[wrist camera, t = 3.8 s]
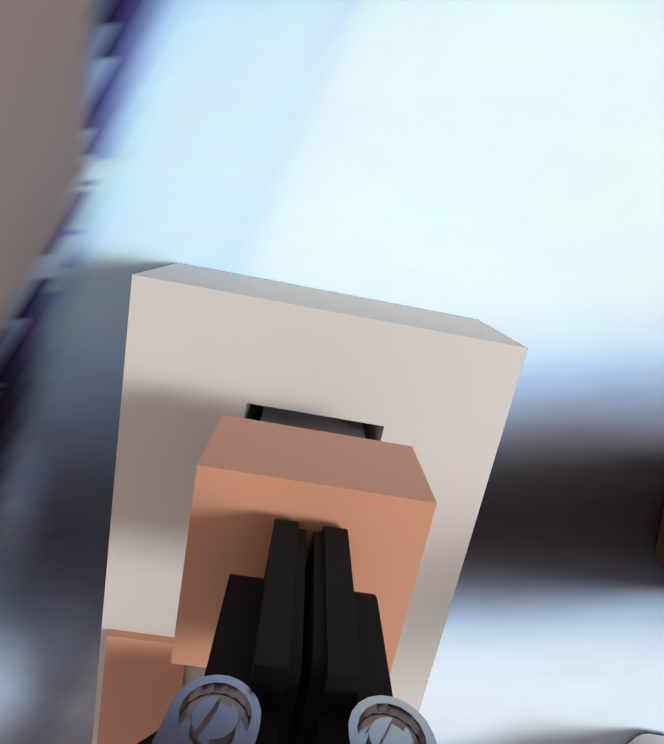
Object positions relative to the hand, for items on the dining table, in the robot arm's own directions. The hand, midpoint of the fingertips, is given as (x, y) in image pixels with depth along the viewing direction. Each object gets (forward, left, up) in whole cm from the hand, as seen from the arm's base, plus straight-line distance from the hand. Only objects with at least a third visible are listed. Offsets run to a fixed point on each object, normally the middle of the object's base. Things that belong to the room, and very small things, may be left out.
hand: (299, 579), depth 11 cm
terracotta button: (0, 0, -8) cm, 8 cm away
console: (-10, 0, -10) cm, 14 cm away
